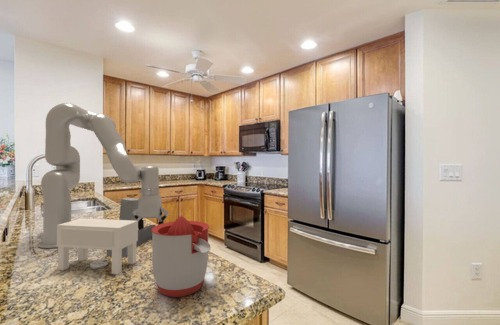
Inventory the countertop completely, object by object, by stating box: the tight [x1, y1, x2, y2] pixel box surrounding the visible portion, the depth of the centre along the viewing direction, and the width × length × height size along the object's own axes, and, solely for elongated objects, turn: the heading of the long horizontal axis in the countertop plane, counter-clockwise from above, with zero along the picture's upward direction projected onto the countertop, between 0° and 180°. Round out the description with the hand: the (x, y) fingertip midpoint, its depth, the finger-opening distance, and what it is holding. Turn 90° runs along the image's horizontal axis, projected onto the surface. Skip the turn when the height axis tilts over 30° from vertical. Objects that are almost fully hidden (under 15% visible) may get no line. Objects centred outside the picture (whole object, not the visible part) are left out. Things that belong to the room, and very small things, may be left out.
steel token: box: [89, 258, 108, 270], centre depth 85 cm, size 5×5×2 cm
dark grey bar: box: [106, 224, 156, 258], centre depth 107 cm, size 8×26×6 cm, turn 172°
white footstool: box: [56, 217, 139, 275], centre depth 85 cm, size 22×10×14 cm, turn 82°
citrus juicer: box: [151, 215, 211, 298], centre depth 70 cm, size 16×17×20 cm
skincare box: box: [118, 197, 139, 221], centre depth 133 cm, size 8×7×16 cm
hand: (150, 229), depth 117 cm, fingers open, 9 cm apart
